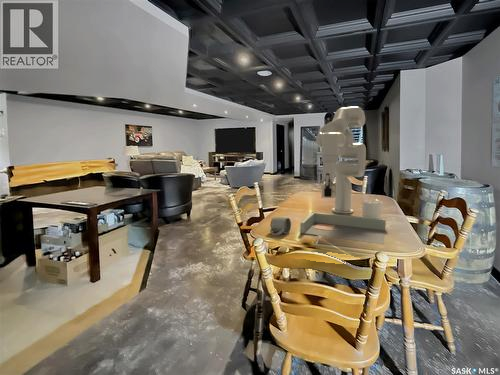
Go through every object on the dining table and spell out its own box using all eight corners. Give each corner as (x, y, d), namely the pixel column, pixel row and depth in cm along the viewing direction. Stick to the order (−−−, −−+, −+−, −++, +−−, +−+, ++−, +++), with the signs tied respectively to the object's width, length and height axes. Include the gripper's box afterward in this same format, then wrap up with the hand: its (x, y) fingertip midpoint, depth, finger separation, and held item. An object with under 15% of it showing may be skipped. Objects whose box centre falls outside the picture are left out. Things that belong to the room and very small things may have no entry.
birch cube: (323, 195, 141) (323, 183, 140) (335, 195, 138) (336, 184, 137) (321, 197, 135) (321, 185, 134) (334, 198, 133) (334, 185, 132)
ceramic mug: (276, 228, 141) (276, 214, 139) (291, 231, 136) (291, 216, 135) (266, 235, 132) (265, 219, 131) (281, 237, 128) (281, 221, 126)
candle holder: (380, 221, 150) (381, 200, 148) (382, 226, 141) (383, 203, 139) (360, 220, 154) (361, 199, 152) (361, 225, 144) (362, 202, 143)
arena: (312, 221, 152) (312, 212, 151) (385, 230, 135) (385, 219, 135) (300, 233, 133) (300, 222, 132) (383, 245, 116) (384, 232, 115)
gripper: (324, 157, 143) (323, 191, 146) (318, 159, 128) (317, 198, 131) (339, 157, 140) (338, 192, 143) (335, 160, 125) (334, 199, 128)
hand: (328, 194), depth 137 cm, fingers closed on birch cube, 6 cm apart
